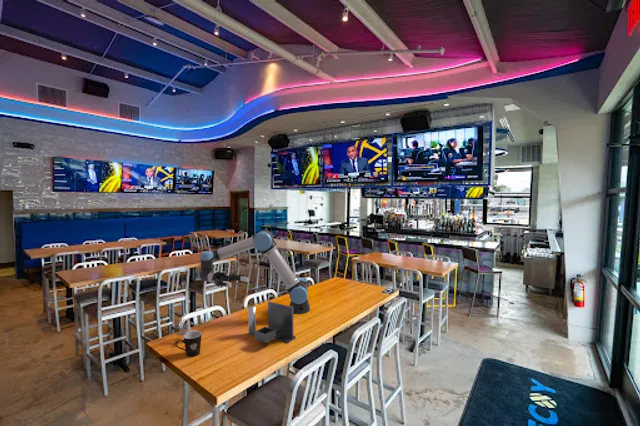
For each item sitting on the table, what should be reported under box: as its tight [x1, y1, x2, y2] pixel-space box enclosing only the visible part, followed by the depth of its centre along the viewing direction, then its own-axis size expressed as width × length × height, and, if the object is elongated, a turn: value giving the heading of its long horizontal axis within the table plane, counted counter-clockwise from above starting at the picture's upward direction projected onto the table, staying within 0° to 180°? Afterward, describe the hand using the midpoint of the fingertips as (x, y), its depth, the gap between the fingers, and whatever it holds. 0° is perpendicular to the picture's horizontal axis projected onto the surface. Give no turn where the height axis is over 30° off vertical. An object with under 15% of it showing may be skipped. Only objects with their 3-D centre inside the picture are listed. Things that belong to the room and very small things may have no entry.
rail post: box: [247, 305, 257, 337], centre depth 181 cm, size 4×4×16 cm
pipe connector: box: [177, 322, 198, 336], centre depth 172 cm, size 10×10×10 cm
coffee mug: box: [175, 330, 203, 358], centre depth 158 cm, size 12×9×10 cm
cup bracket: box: [254, 301, 297, 344], centre depth 171 cm, size 19×18×19 cm
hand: (239, 282), depth 185 cm, fingers open, 13 cm apart
